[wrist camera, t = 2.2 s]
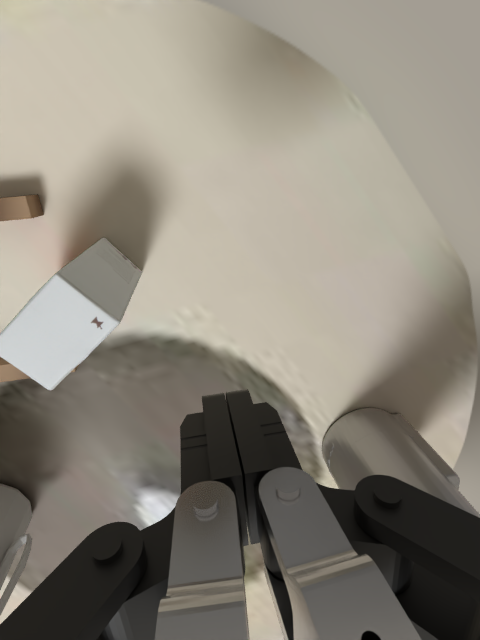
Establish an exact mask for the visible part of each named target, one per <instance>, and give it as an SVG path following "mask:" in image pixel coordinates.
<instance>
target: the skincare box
mask: <svg viewBox="0 0 480 640" xmlns="http://www.w3.org/2000/svg"><path fill="white" fill-rule="evenodd" d="M141 274H142V271H141V270H140V269H139V268H138V267H137V266H135V265H134V264H133V263H132V262H131V261H130V260H129V259H128V258H127V257H126V256H124V255H123V254H122V253H121V252H120V251H119V250H118V249H117V248H115V247H114V246H113V245H112V244H111V243H110V242H109V241H108V240H107V239H106V238H101V239H100V240H99V241H97V242H96V243H95V244H94V245H92V246H91V247H90V248H88V249H87V250H85V251H84V252H83V253H82V254H80V255H79V256H78V257H76V258H75V259H74V260H72V261H71V262H70V263H68V264H67V265H66V266H64V267H63V268H62V269H61V270H59V271H58V272H57V273H55V274H54V275H53V276H52V277H51V278H50V279H49V280H48V281H47V282H46V283H45V284H44V285H43V286H42V287H41V288H40V289H39V290H38V292H37V293H36V294H35V295H34V296H33V297H32V298H31V299H30V300H29V301H28V303H27V304H26V305H25V306H24V307H23V308H22V310H21V311H20V312H19V313H18V314H17V315H16V316H15V317H14V319H13V320H12V321H11V322H10V323H9V324H8V325H7V326H6V327H5V329H4V330H3V331H2V332H1V333H0V357H1V358H3V359H4V360H6V361H7V362H9V363H10V364H12V365H13V366H15V367H16V368H18V369H19V370H20V371H22V372H23V373H25V374H26V375H28V376H29V377H31V378H32V379H33V380H35V381H36V382H38V383H39V384H41V385H42V386H43V387H45V388H46V389H48V390H52V389H54V388H55V387H56V386H57V385H58V384H59V383H60V382H61V381H62V380H63V379H64V378H65V377H66V376H67V375H68V374H69V373H70V372H71V371H72V370H73V369H74V368H75V367H76V366H77V365H79V364H80V363H81V362H82V361H83V360H84V359H86V358H87V356H88V355H89V354H90V353H91V352H92V351H93V350H94V349H95V348H96V347H97V346H98V345H99V344H100V343H101V342H102V341H103V340H104V339H105V338H106V337H107V336H108V335H109V334H110V333H111V332H112V331H113V330H114V329H115V328H116V327H117V326H118V325H119V323H120V322H121V320H122V318H123V316H124V313H125V311H126V308H127V306H128V304H129V302H130V299H131V297H132V294H133V292H134V290H135V288H136V286H137V283H138V281H139V279H140V276H141Z"/></svg>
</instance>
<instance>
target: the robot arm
mask: <svg viewBox="0 0 480 640" xmlns="http://www.w3.org/2000/svg"><path fill="white" fill-rule="evenodd" d="M202 403H203V412H202V413H195V414H189V415H187V416H186V417H185V419H184V421H183V423H182V424H181V426H180V437H181V495H180V497H179V498H178V500H177V503H176V506H175V508H174V509H173V510H172V511H171V513H169V514H168V515H167V516H166V517H165V518H163V519H162V520H160V521H159V522H157V523H155V524H153V525H151V526H149V527H147V528H145V529H143V530H141V531H140V530H139V529H138V528H137V527H136V526H134V525H133V524H130V523H127V522H114V523H110V524H107V525H104V526H102V527H100V528H98V529H96V530H95V531H94V532H92V533H91V534H90V535H89V536H87V537H86V538H85V539H84V540H83V541H82V542H81V543H80V544H79V545H78V546H77V547H76V548H75V549H74V550H73V551H72V552H71V553H70V554H69V556H68V557H67V558H66V559H65V560H64V561H63V562H62V563H61V564H60V565H59V566H58V567H57V568H56V569H55V570H54V571H53V572H52V573H51V574H50V575H49V576H48V577H47V578H46V579H45V580H44V581H43V582H42V583H41V584H40V585H39V586H38V587H37V588H36V589H35V590H34V591H33V592H32V593H31V594H30V595H29V596H28V597H27V598H26V599H25V600H24V601H23V602H22V603H21V604H20V605H19V606H18V607H17V608H16V609H15V610H14V611H13V612H12V613H11V614H10V615H9V616H8V617H7V618H6V619H5V620H4V621H3V622H2V623H1V624H0V640H250V639H249V628H248V617H247V607H246V596H245V585H244V575H245V558H244V548H243V546H246V545H248V534H247V527H248V532H249V537H250V542H251V544H255V543H260V544H261V549H262V553H263V558H264V572H265V576H266V580H267V583H268V586H269V590H270V593H271V596H272V600H273V603H274V606H275V610H276V613H277V616H278V620H279V623H280V626H281V630H282V633H283V636H284V640H480V514H479V513H478V512H477V511H476V510H475V509H474V508H473V507H472V505H471V504H470V503H469V502H468V501H467V500H466V498H465V497H464V496H463V495H462V494H461V493H460V492H459V491H458V488H459V483H460V479H459V477H458V475H457V474H456V473H455V472H454V471H453V470H452V468H451V467H450V466H449V465H448V464H447V463H446V462H445V461H444V460H443V459H442V458H441V457H440V456H439V455H438V453H437V452H436V451H435V450H434V449H433V448H432V447H431V446H430V445H429V444H428V443H427V442H426V441H425V440H424V438H423V437H422V436H421V435H420V434H419V433H418V432H417V431H416V430H415V429H414V428H413V427H412V426H411V424H410V423H409V422H408V421H407V420H406V419H405V418H404V417H403V416H402V415H401V414H390V413H388V412H386V411H384V410H381V409H377V408H364V409H358V410H355V411H352V412H350V413H348V414H346V415H344V416H343V417H341V418H340V419H339V420H337V421H336V422H335V423H334V424H333V425H332V426H331V427H330V429H329V430H328V432H327V434H326V435H325V438H324V441H323V445H322V454H323V458H324V460H325V462H326V464H327V466H328V468H329V471H330V473H331V475H332V477H333V478H334V480H335V482H336V484H337V486H338V488H339V489H334V488H329V487H325V486H322V485H320V484H318V483H316V482H315V481H314V479H313V478H312V477H311V476H310V475H309V474H308V473H306V472H304V471H303V470H302V468H301V465H300V463H299V461H298V458H297V456H296V454H295V452H294V449H293V447H292V445H291V442H290V440H289V438H288V435H287V433H286V431H285V428H284V426H283V424H282V421H281V419H280V417H279V415H278V412H277V410H275V409H274V408H273V407H272V406H270V405H269V404H268V403H267V402H265V403H258V404H253V402H252V399H251V396H250V393H249V391H248V389H246V390H240V391H233V392H226V400H225V395H224V393H220V394H214V395H207V396H202ZM246 522H247V523H246Z"/></svg>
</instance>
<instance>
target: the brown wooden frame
mask: <svg viewBox="0 0 480 640" xmlns="http://www.w3.org/2000/svg"><path fill="white" fill-rule="evenodd" d="M41 215H44V214H43V211H42V207H41V203H40V200H39V196H38V195H26V196H15V197H4V198H0V221H8V220H18V219H29V218H34V217H38V216H41ZM78 366H79V365H77V366H76V367H75V368H74V369H73V370H72V371H71V372H75V371H76V369H77V368H78ZM27 378H31V377H29V376H28V375H26V374H25V373H23V372H22V371H20V370H19V369H18V368H16V367H15V366H13V365H12V364H10V363H9V362H7V361H6V360H4V359H3V358H1V357H0V382H5V381H12V380H19V379H27Z"/></svg>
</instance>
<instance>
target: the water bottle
mask: <svg viewBox="0 0 480 640" xmlns="http://www.w3.org/2000/svg"><path fill="white" fill-rule="evenodd" d="M31 518H32V511H31V504H30V502H29V500H28V499H27V498H26V497H25V496H24V495H23V494H22V493H21V492H20V491H19V490H18V489H16V488H13V487H10V486H7V485H4V484H1V483H0V590H1V587H2V585H3V583H4V580H5V578H6V576H7V573H8V571H9V569H10V567H11V564H12V562H13V560H14V557H15V555H16V553H17V551H18V549H19V548H20V547H21V546H22V545H23V544H25V543H26V545H25V548H24V551H23V554H22V557H21V560H20V562H19V564H18V566H17V568H16V570H15V572H14V574H13V576H12V578H11V580H10V581H9V583H8V585H7V587H6V589H5V591H4V593H3V595H2V597H1V599H0V615H1V613H2V611H3V609H4V607H5V605H6V603H7V601H8V599H9V597H10V595H11V593H12V591H13V589H14V587H15V585H16V583H17V581H18V579H19V577H20V575H21V573H22V571H23V569H24V568H25V565H26V562H27V559H28V556H29V553H30V550H31V544H32V538H31V536H30V534H26V535H24V534H25V532H26V530H27V528H28V525H29V523H30V521H31Z"/></svg>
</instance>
